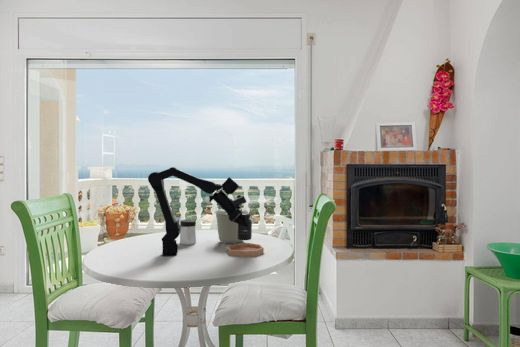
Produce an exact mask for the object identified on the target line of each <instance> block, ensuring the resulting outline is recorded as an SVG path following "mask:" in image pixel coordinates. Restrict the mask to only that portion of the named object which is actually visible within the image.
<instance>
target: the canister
mask: <svg viewBox="0 0 520 347" xmlns="http://www.w3.org/2000/svg"><path fill="white" fill-rule="evenodd" d="M241 209H242V213H247V214H249V211H248V210H247V209H245V208H243V207H241ZM241 209H240V210H241ZM214 213H215V215H216V225H217V232H218V233H217V234H218V239H219V241H220V242H221V243H223V244H228V245H229V244H230V245H232V244H239V243H243V241H244V240H239V239H238V238H237V226H238V223H235V222H231V221H230V220H229V215H228V214H227V213H226V212H225V211H224V210H223V209H222V208H219V209H216V210H215V211H214Z"/></svg>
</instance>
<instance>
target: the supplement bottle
mask: <svg viewBox="0 0 520 347" xmlns="http://www.w3.org/2000/svg"><path fill="white" fill-rule="evenodd" d="M242 217H243V218H244V220H245V221H246V223H247V224H248V227H245V226H243V225H240V224H238V226H237V238H238V239H239V240H243V241H249V240H251V239H252V233H253V230H252V229H253V228H252V227H253V221H252V219H251V214H250V213H242Z"/></svg>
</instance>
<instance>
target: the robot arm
mask: <svg viewBox="0 0 520 347" xmlns="http://www.w3.org/2000/svg"><path fill="white" fill-rule="evenodd" d="M171 177H175V178H177V179H179V180H181V181H184V182H186V183H189V184H191V185H193V186H195V187H197V188H198V189H200V190H201V191H203V192H204V193H206V194H207V195H209V196H208V198H209V200H208V202H209V203H210V202H212V201H214V202H215V203H217V205H218V206H219V207H221V208H222V209H223V210H224V211H225V212H226V213H227V214H228V215H229V220H230V221H231V222H235V223H238V224H240V225H243V226H245V227H248V224H247V223H246V221H245V220H244V218H243V217H242V209H241V208H242V207H241V205H243V204H246V203H247V200H246V198H245V195H241V194H238V195H236V198H235V199H233V198H230V197H229V195H230V196H231V195H233V194H234V193H235V192H236V191H237V190H239V188H240V185H239V184H238V183H237V182H236V181H235V180H233V179H232V178H231V177H230V176H229V177H227V179H226V180H225V181H224V182H223V183H222V184H220V183H219V184H218V183H215V182H214V181H212V180H209V179H204V178H200V177H197V176H195V175H193V174H190V173H188V172H185V171H183V170H180V169H178V168H177V167H176V166H175V167H174V166H173V167H169V168H168V169H164V170H163V171H155V172H151V173H150V174H148V178H147V181H148V183H149V185H150V186H151V188H152V189H153V191H154V192H155V195H156V199H157V200H158V204H159V206H160V209H161V212H162V213H161V214H162V216H163V218H164V221H165V222H164V223H165V226H164V227H165V234H164V235H163V236H162V238H161V243H162V251H161V252H162V254H161V256H162V257H171V256H177V255H178V253H179V248H178V246H179V245H178V242H177V240H176V239H177V238H178V237H180V232H181V226H180V220H179V219H178V220H176V219H175V217H174V214H173V212H172V209H171V205H170V202H169V199H168V196H167V194H166V190H165V182H164V180H165V179H167V178H171ZM217 191H218V192H217ZM211 194H212V195H211ZM221 208H220V209H221ZM240 209H241V210H240Z"/></svg>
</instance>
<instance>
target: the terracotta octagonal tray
mask: <svg viewBox="0 0 520 347" xmlns="http://www.w3.org/2000/svg"><path fill="white" fill-rule="evenodd" d="M225 248H226V251H225V252H226V253H227V254H228V256H230V257H231V256H232V257H238V258H249V257H250V258H251V257H258V256H260V255H262V254H264V247H263V245H261V244H258V243H251V242H250V243H249V242H240V243H235V244H230V245H226V247H225Z"/></svg>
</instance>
